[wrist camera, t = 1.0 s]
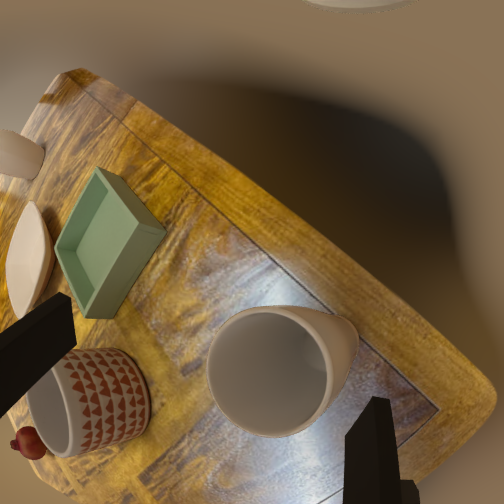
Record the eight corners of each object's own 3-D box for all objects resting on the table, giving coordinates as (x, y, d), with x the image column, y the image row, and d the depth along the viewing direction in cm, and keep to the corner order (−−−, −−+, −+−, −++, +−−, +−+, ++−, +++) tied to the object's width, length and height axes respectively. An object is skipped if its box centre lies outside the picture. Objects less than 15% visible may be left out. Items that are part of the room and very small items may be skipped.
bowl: (19, 268, 61) (2, 265, 56) (50, 194, 58) (31, 188, 53) (40, 334, 51) (19, 333, 47) (75, 253, 48) (50, 248, 43)
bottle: (28, 191, 66) (-48, 166, 44) (29, 165, 70) (-39, 139, 48) (47, 162, 63) (-35, 131, 40) (47, 137, 67) (-25, 106, 44)
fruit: (41, 447, 49) (8, 453, 40) (36, 419, 50) (2, 423, 42) (57, 462, 45) (21, 469, 37) (51, 432, 47) (13, 438, 38)
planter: (143, 346, 37) (58, 350, 26) (160, 444, 33) (83, 472, 22) (88, 348, 42) (18, 349, 31) (101, 429, 39) (35, 443, 28)
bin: (120, 176, 45) (96, 165, 41) (167, 231, 38) (139, 222, 34) (76, 253, 48) (53, 248, 43) (112, 319, 41) (84, 318, 36)
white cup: (347, 292, 27) (293, 277, 14) (380, 358, 25) (359, 412, 11) (285, 326, 29) (185, 339, 16) (315, 389, 27) (235, 453, 13)
